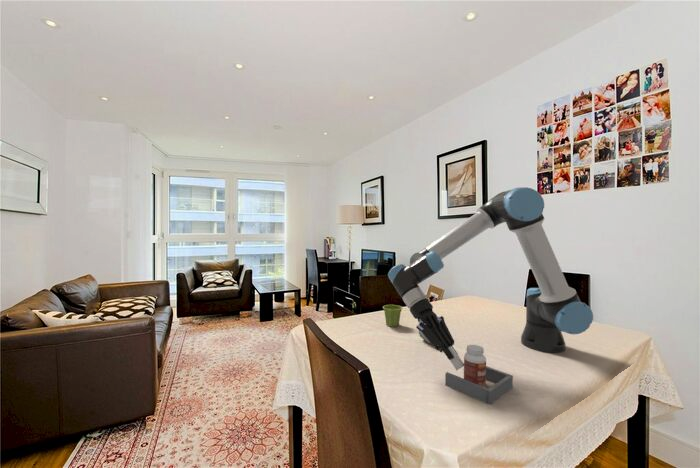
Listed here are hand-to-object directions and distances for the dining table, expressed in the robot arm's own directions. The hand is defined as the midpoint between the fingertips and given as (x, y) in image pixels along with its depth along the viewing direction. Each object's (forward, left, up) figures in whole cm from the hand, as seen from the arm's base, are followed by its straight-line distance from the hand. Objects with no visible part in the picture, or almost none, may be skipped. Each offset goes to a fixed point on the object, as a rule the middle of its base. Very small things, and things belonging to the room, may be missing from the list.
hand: (460, 367), depth 96 cm
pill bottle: (-4, +2, -4) cm, 6 cm away
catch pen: (-5, +2, -4) cm, 6 cm away
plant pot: (+31, -45, -4) cm, 55 cm away
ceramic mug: (+10, -30, -4) cm, 32 cm away
